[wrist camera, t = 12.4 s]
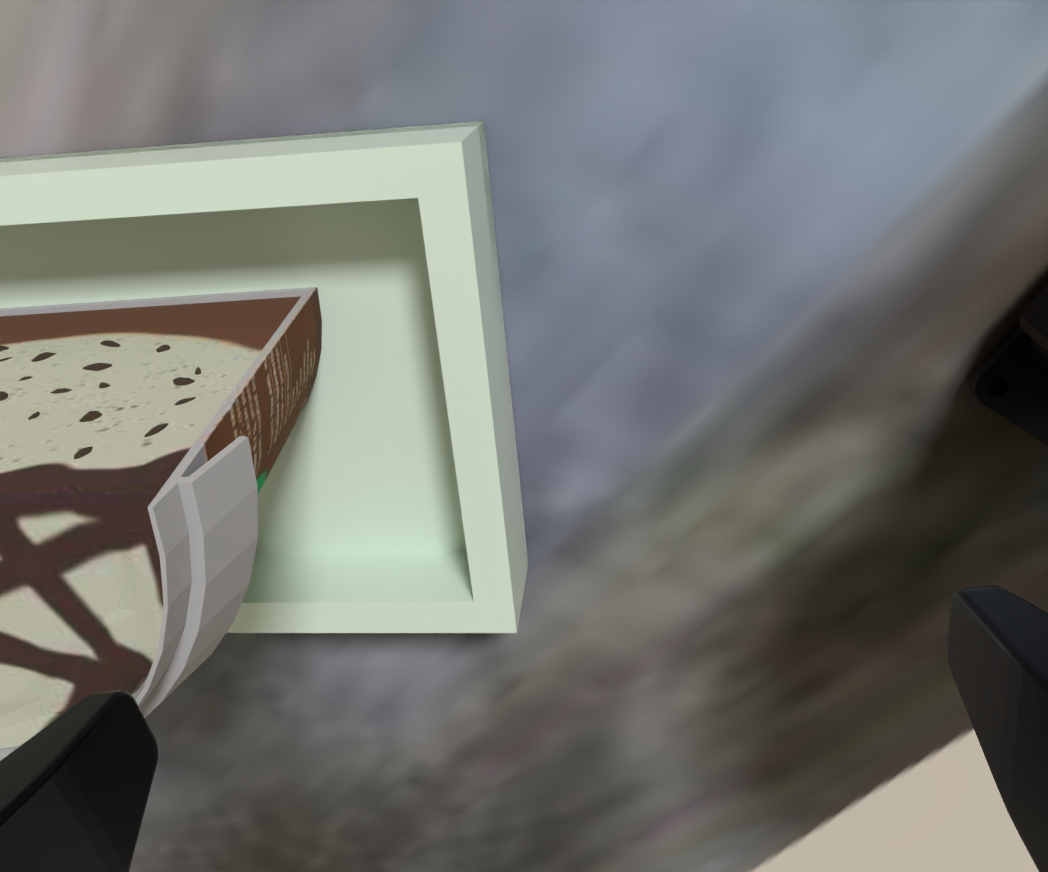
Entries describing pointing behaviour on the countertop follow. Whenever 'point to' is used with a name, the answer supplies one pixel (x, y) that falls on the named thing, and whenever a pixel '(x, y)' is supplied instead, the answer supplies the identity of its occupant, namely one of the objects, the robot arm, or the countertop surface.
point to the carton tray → (325, 350)
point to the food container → (135, 486)
